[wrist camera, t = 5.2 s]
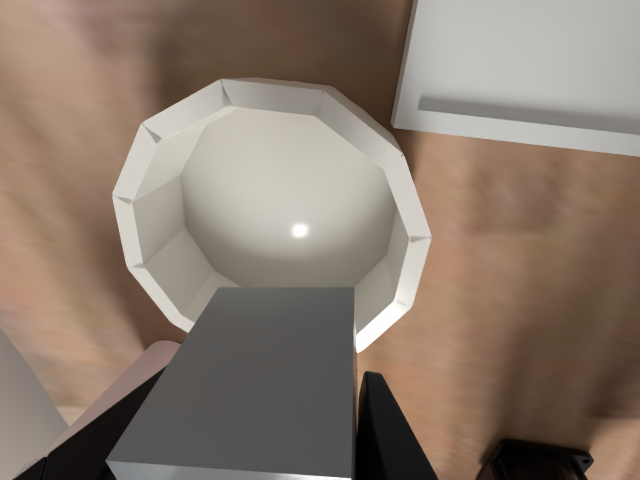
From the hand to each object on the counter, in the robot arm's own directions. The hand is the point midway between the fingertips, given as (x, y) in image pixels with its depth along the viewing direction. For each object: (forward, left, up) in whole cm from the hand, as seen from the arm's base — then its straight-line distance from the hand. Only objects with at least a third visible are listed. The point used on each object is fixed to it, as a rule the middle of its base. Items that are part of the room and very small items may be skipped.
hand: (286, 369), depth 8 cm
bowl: (+2, 0, -10) cm, 11 cm away
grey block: (0, 0, -1) cm, 1 cm away
